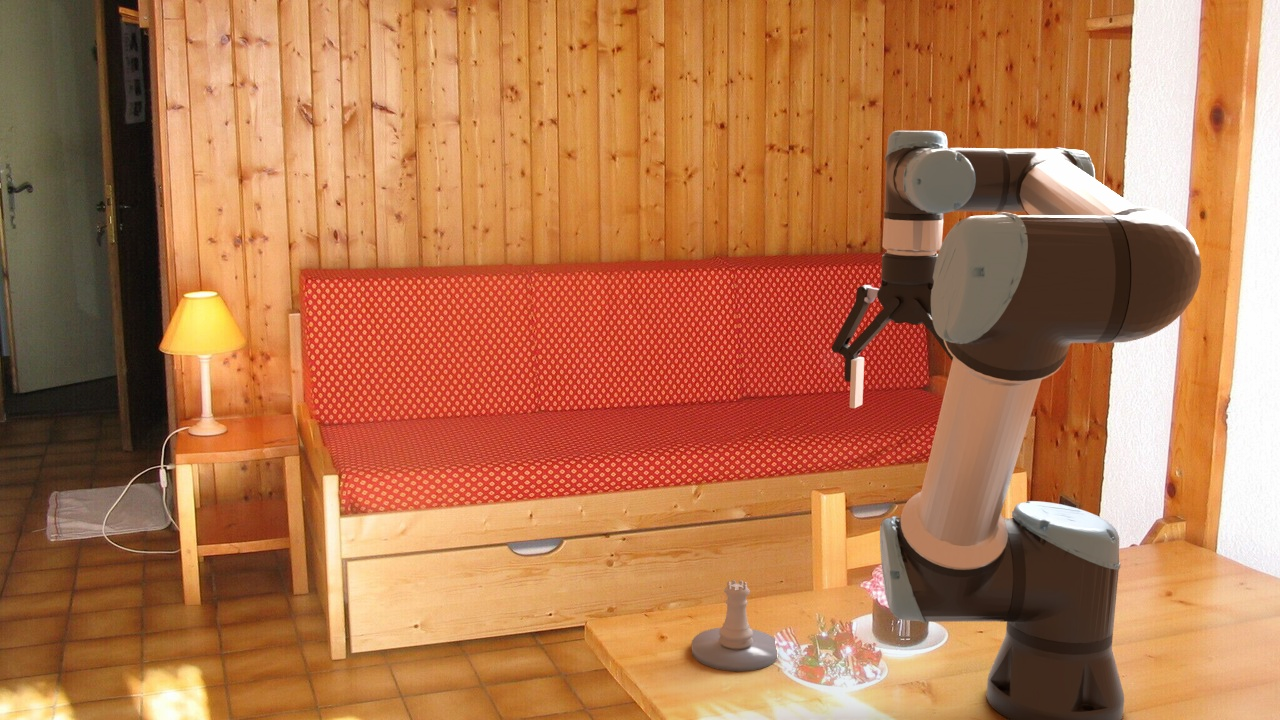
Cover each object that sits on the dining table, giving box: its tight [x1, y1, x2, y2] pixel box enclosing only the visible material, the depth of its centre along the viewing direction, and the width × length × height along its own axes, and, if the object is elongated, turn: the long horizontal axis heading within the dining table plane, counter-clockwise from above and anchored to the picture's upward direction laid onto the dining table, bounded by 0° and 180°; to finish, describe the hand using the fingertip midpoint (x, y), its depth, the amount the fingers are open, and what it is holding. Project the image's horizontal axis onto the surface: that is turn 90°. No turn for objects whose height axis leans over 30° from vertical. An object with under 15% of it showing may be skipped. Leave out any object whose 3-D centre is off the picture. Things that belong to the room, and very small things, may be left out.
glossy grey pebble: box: [691, 626, 778, 672], centre depth 161 cm, size 11×11×1 cm
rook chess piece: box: [718, 579, 753, 650], centre depth 161 cm, size 4×4×8 cm
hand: (904, 412), depth 168 cm, fingers open, 13 cm apart
